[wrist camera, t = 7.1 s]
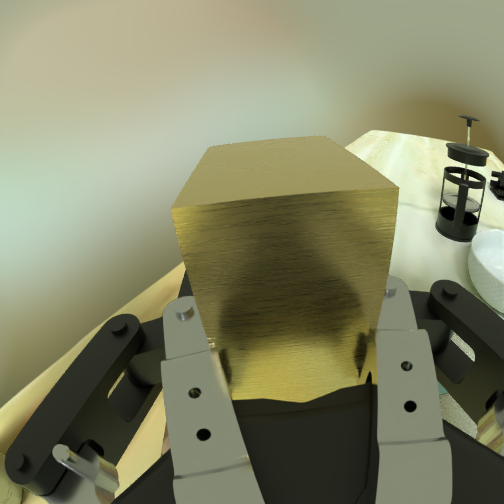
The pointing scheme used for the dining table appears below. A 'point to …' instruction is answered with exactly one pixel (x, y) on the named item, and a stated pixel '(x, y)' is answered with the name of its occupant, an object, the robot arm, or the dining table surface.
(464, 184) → the french press
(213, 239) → the brushed brass block
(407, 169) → the dining table surface
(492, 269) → the cereal bowl
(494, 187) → the end cap
